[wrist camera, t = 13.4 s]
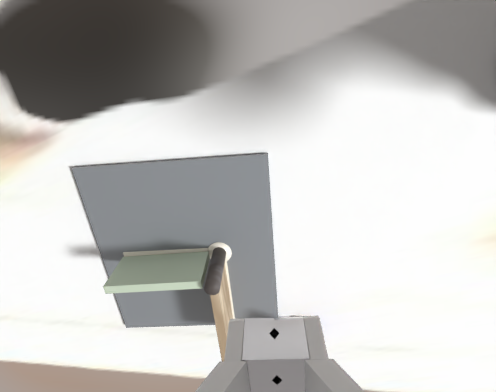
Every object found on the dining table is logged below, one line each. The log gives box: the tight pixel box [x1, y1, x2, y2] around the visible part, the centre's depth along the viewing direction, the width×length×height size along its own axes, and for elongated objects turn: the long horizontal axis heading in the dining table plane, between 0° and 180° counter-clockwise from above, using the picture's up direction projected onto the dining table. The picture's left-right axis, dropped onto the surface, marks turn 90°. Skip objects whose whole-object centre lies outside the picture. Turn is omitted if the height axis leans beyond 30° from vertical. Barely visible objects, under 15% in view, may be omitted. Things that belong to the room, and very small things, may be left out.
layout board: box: [72, 153, 278, 328], centre depth 47 cm, size 26×29×1 cm
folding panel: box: [103, 251, 210, 294], centre depth 44 cm, size 13×1×6 cm, turn 96°
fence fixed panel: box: [204, 247, 233, 362], centre depth 46 cm, size 2×16×8 cm, turn 5°
